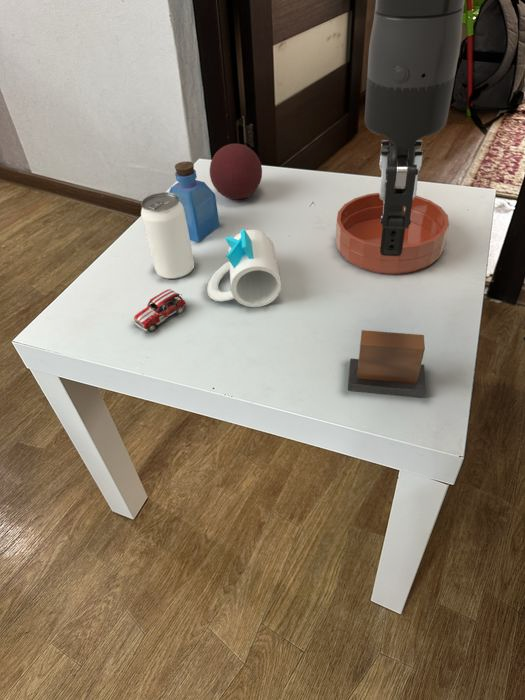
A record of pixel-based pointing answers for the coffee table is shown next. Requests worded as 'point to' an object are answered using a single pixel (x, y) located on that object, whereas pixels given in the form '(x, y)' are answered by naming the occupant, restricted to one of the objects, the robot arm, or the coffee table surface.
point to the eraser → (389, 364)
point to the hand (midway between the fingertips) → (391, 232)
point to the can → (167, 235)
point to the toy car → (159, 309)
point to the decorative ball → (235, 171)
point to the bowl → (366, 230)
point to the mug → (248, 270)
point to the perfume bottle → (195, 202)
